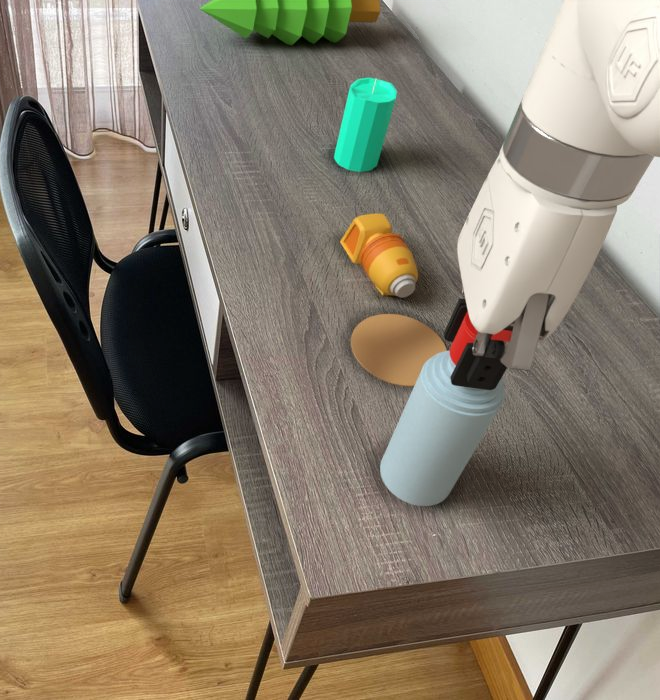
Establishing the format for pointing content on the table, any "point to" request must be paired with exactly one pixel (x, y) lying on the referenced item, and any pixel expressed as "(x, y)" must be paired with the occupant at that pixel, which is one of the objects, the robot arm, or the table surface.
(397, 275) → the yellow plastic toy
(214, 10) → the decorative tree
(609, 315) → the table surface
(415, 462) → the bottle
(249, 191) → the table surface
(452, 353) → the cap
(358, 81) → the candle
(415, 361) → the coaster
